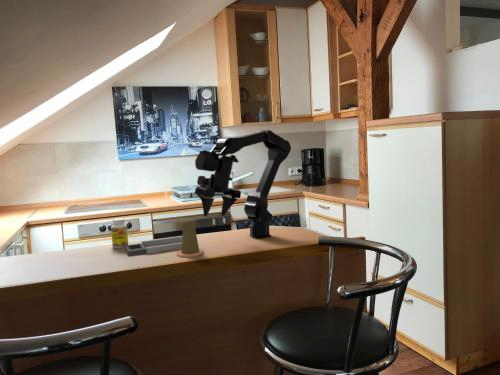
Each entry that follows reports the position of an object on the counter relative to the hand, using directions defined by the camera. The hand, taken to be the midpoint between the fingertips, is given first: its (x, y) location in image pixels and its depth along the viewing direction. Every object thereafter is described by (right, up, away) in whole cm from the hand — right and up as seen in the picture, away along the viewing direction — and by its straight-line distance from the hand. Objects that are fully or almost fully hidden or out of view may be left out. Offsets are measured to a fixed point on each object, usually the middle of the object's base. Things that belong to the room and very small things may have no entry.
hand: (214, 215), depth 148 cm
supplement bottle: (-35, -12, +4) cm, 37 cm away
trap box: (-27, -12, -4) cm, 30 cm away
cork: (-7, -12, -9) cm, 16 cm away
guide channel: (-17, -11, 0) cm, 20 cm away
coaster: (-7, -12, -9) cm, 17 cm away
